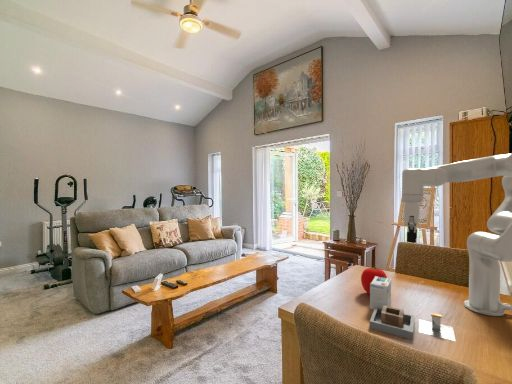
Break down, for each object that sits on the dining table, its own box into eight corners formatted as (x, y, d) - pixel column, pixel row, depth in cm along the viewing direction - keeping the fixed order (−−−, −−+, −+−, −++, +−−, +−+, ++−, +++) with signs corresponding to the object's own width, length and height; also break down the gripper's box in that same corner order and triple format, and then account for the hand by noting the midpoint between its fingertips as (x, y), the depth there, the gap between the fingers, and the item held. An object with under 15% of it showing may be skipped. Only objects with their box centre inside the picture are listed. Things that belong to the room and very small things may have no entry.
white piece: (452, 329, 92) (453, 312, 91) (455, 344, 83) (456, 325, 83) (419, 321, 97) (419, 305, 97) (418, 334, 89) (419, 316, 88)
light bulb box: (374, 299, 116) (374, 275, 116) (391, 303, 112) (391, 278, 112) (369, 308, 107) (369, 283, 107) (387, 313, 104) (387, 286, 103)
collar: (383, 318, 97) (383, 305, 97) (403, 323, 94) (403, 309, 94) (381, 326, 92) (381, 312, 92) (402, 332, 88) (402, 317, 88)
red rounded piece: (362, 298, 117) (362, 270, 117) (359, 289, 128) (359, 263, 127) (390, 301, 114) (390, 272, 114) (384, 291, 125) (384, 265, 125)
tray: (414, 324, 95) (414, 315, 95) (412, 343, 84) (413, 332, 84) (375, 315, 102) (375, 306, 102) (369, 330, 91) (369, 321, 91)
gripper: (403, 197, 116) (402, 235, 116) (400, 199, 102) (399, 243, 102) (423, 198, 112) (422, 237, 112) (423, 199, 97) (422, 245, 98)
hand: (411, 240), depth 107 cm, fingers open, 9 cm apart
